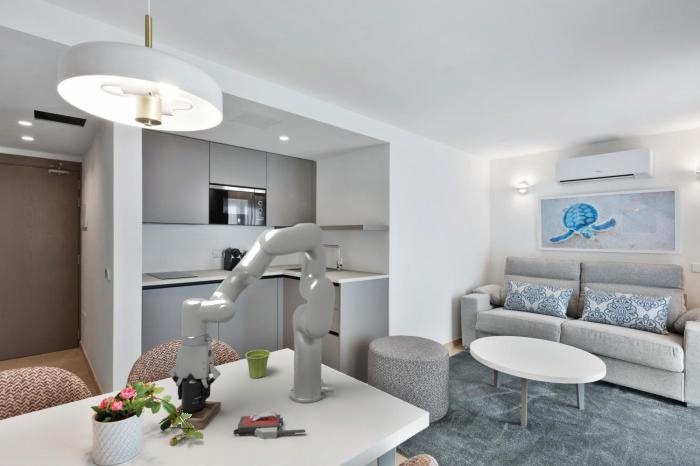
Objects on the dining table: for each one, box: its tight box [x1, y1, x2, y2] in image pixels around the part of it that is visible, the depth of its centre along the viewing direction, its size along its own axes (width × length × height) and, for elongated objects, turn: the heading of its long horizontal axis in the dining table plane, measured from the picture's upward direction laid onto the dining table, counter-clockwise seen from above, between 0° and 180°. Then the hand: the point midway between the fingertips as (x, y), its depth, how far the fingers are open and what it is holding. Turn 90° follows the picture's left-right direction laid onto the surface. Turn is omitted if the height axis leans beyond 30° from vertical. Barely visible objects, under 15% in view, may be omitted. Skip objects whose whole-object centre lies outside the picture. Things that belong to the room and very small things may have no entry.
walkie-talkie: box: [233, 411, 306, 439], centre depth 101 cm, size 9×4×20 cm
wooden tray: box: [164, 400, 222, 431], centre depth 107 cm, size 11×11×2 cm
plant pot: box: [244, 349, 271, 379], centre depth 139 cm, size 9×9×9 cm
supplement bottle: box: [180, 373, 207, 414], centre depth 107 cm, size 7×7×12 cm
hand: (194, 397), depth 107 cm, fingers closed on supplement bottle, 6 cm apart
